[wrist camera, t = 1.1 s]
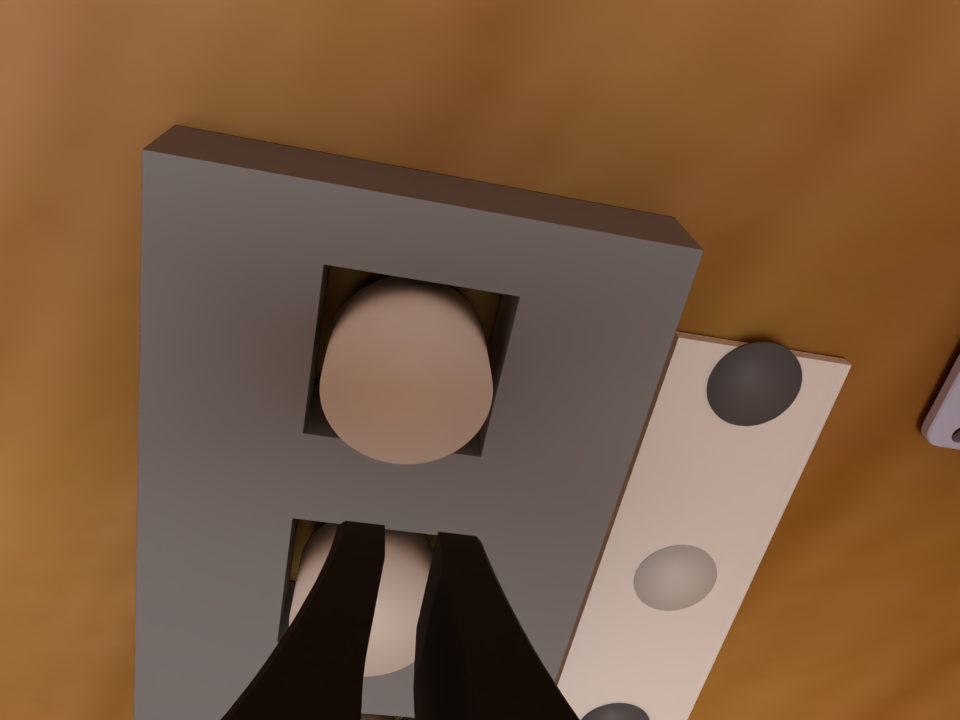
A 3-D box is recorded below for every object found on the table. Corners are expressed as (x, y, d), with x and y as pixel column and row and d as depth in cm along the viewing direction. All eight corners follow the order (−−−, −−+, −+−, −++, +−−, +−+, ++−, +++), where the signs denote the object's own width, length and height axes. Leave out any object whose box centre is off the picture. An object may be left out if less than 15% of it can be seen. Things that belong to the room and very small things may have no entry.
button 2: (447, 521, 22) (449, 577, 20) (423, 621, 24) (423, 682, 22) (307, 504, 22) (296, 560, 20) (293, 608, 23) (282, 669, 21)
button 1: (500, 289, 19) (509, 329, 17) (469, 423, 21) (474, 474, 19) (339, 263, 19) (330, 300, 17) (321, 403, 20) (310, 452, 18)
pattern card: (848, 349, 22) (857, 357, 22) (666, 748, 29) (670, 760, 29) (678, 320, 21) (683, 329, 21) (534, 737, 29) (536, 749, 28)
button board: (673, 217, 20) (703, 250, 18) (491, 784, 30) (496, 849, 28) (175, 124, 18) (142, 149, 16) (154, 760, 28) (132, 828, 26)
